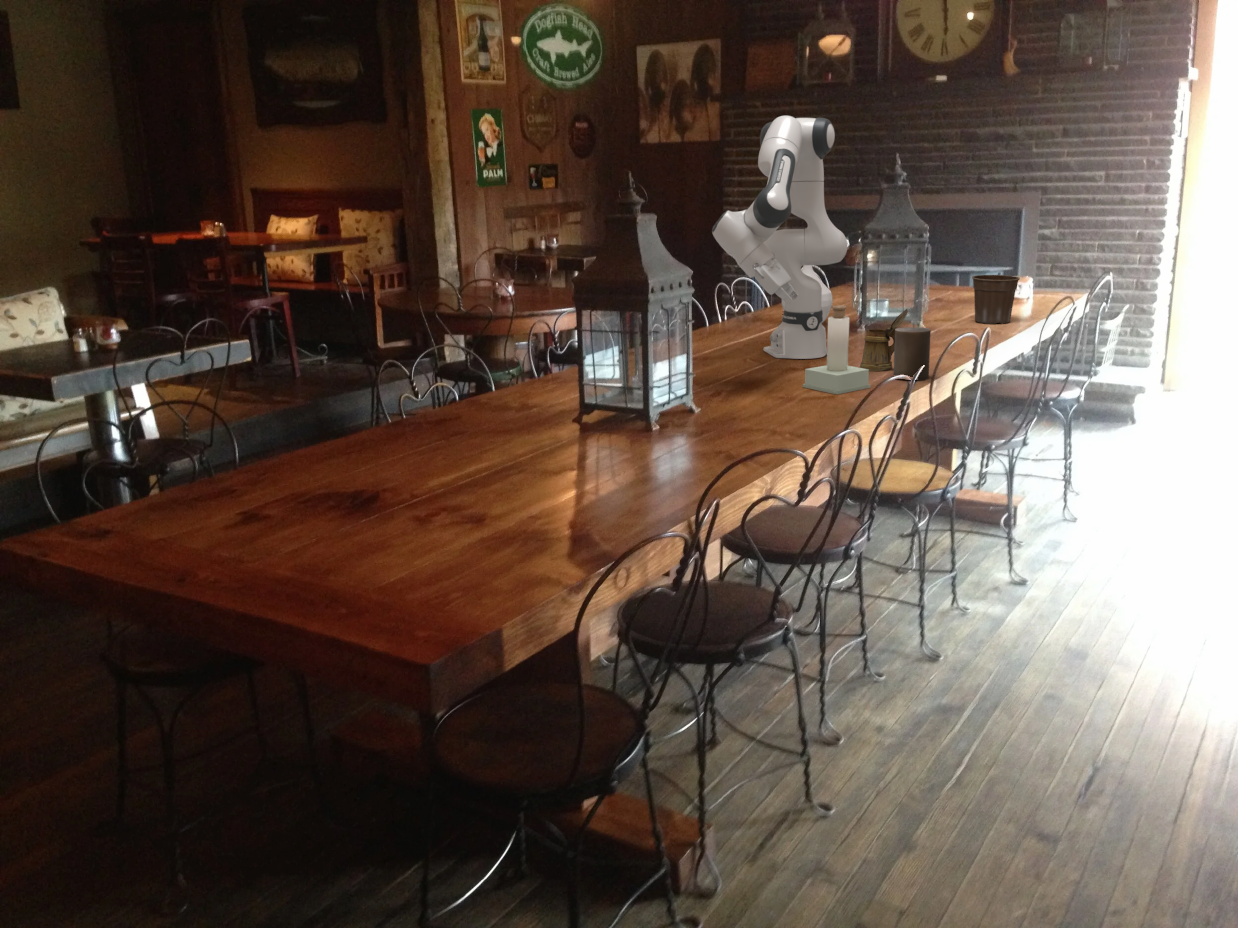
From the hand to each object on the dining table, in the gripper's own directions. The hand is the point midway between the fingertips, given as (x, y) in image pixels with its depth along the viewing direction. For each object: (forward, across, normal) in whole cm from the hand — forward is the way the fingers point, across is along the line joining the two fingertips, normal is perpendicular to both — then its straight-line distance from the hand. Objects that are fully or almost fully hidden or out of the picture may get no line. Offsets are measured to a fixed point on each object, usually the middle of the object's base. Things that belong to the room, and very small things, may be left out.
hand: (793, 300), depth 304 cm
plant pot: (+53, +122, -24) cm, 135 cm away
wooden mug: (+32, +28, 0) cm, 42 cm away
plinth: (+25, 0, +8) cm, 26 cm away
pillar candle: (+38, +16, -6) cm, 42 cm away
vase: (+8, +106, +23) cm, 109 cm away
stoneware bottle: (+22, 0, +4) cm, 22 cm away
